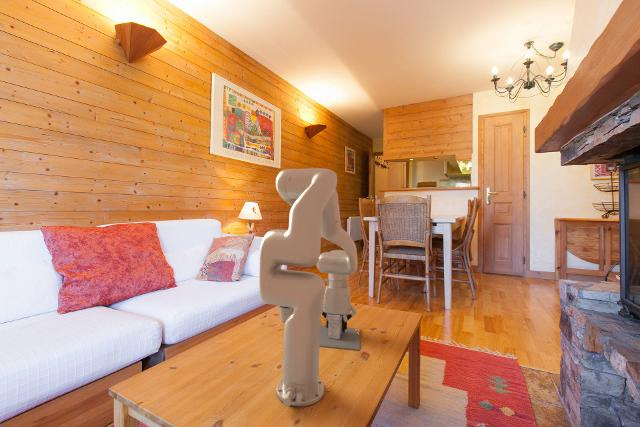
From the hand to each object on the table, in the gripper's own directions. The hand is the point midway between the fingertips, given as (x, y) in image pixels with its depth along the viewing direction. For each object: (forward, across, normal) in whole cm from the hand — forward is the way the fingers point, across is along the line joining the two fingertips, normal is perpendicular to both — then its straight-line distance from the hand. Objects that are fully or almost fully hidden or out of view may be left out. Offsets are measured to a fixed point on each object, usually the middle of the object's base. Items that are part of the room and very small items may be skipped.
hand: (336, 329), depth 112 cm
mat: (+2, -2, -1) cm, 3 cm away
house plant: (+3, -22, +10) cm, 24 cm away
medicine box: (+2, 0, 0) cm, 2 cm away
